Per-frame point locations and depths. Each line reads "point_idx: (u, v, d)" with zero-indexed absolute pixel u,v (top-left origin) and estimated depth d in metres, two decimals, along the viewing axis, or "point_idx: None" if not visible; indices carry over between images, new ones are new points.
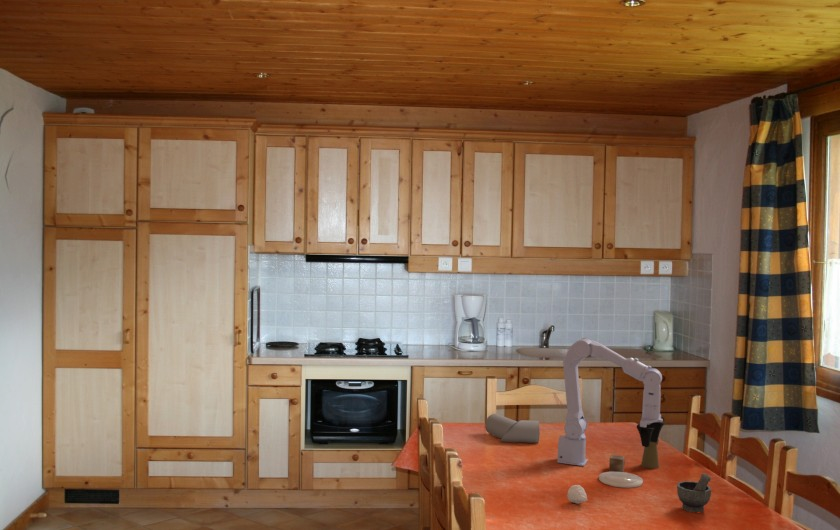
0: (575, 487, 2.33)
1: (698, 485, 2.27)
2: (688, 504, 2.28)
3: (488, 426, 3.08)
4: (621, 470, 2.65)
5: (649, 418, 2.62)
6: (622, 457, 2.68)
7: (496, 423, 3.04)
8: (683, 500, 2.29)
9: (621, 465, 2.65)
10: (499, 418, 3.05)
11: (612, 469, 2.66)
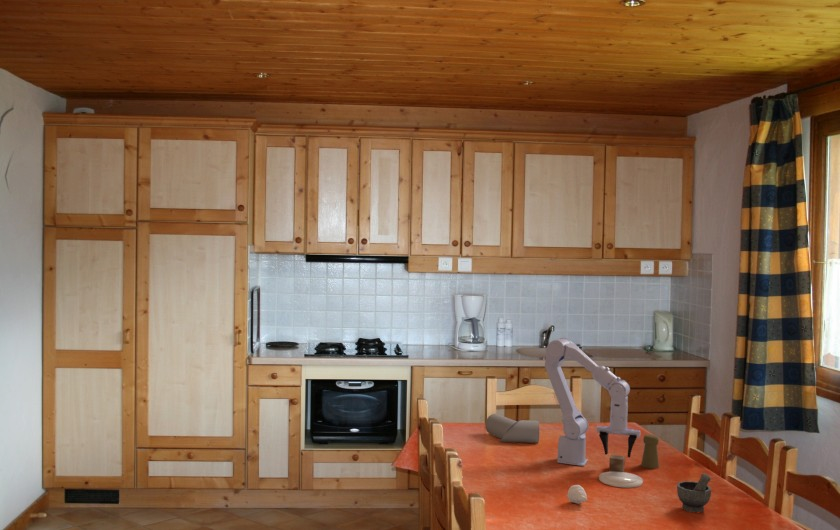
0: (575, 487, 2.33)
1: (698, 485, 2.27)
2: (688, 504, 2.28)
3: (488, 426, 3.08)
4: (621, 470, 2.65)
5: (609, 427, 2.68)
6: (622, 457, 2.68)
7: (496, 423, 3.04)
8: (683, 500, 2.29)
9: (621, 465, 2.65)
10: (499, 418, 3.05)
11: (612, 469, 2.66)
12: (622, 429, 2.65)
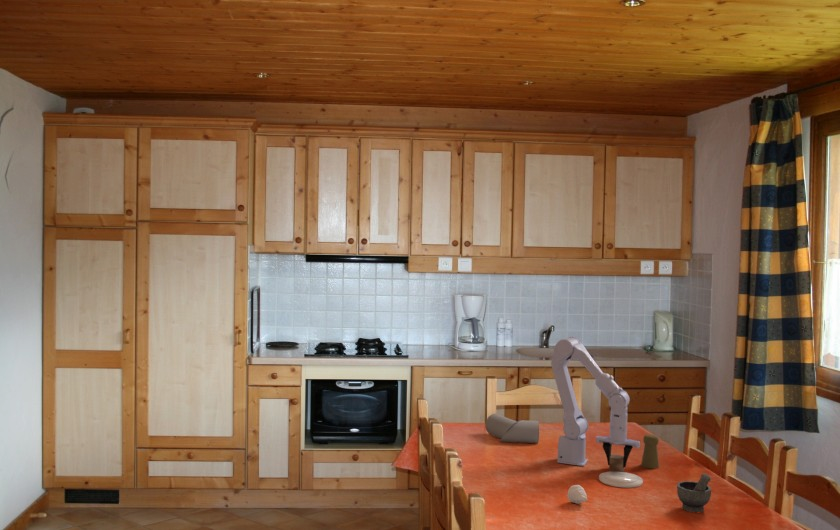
0: (575, 487, 2.33)
1: (698, 485, 2.27)
2: (688, 504, 2.28)
3: (488, 426, 3.08)
4: (621, 470, 2.65)
5: (609, 437, 2.68)
6: (622, 457, 2.68)
7: (496, 423, 3.04)
8: (683, 500, 2.29)
9: (621, 465, 2.65)
10: (499, 418, 3.05)
11: (612, 469, 2.66)
12: (622, 440, 2.65)
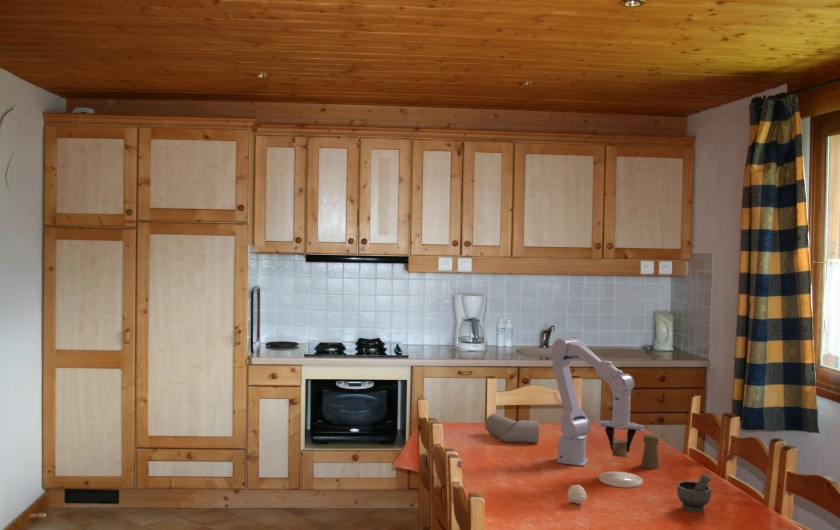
0: (575, 487, 2.33)
1: (698, 485, 2.27)
2: (688, 504, 2.28)
3: (488, 426, 3.08)
4: (624, 455, 2.59)
5: (612, 421, 2.61)
6: (625, 442, 2.61)
7: (496, 423, 3.04)
8: (683, 500, 2.29)
9: (624, 450, 2.59)
10: (499, 418, 3.05)
11: (615, 454, 2.60)
12: (625, 423, 2.58)
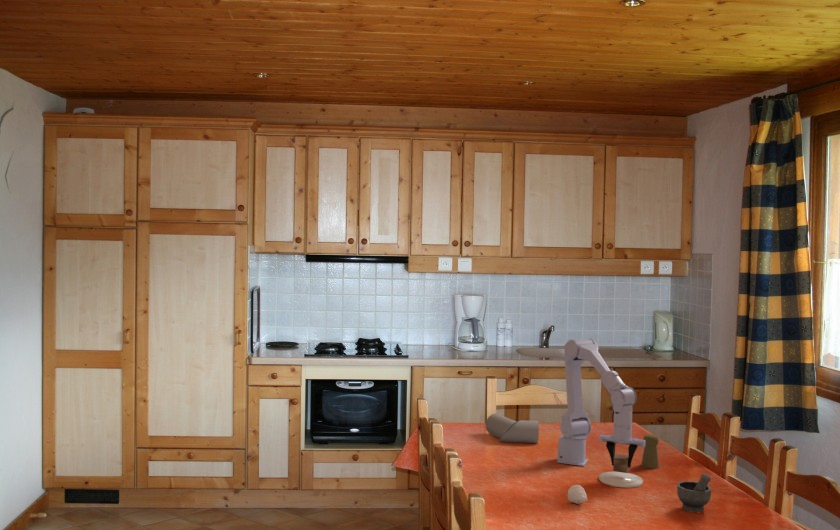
0: (575, 487, 2.33)
1: (698, 485, 2.27)
2: (688, 504, 2.28)
3: (488, 426, 3.08)
4: (626, 470, 2.53)
5: (613, 436, 2.56)
6: (627, 457, 2.56)
7: (496, 423, 3.04)
8: (683, 500, 2.29)
9: (626, 465, 2.53)
10: (499, 418, 3.06)
11: (616, 469, 2.54)
12: (626, 438, 2.53)
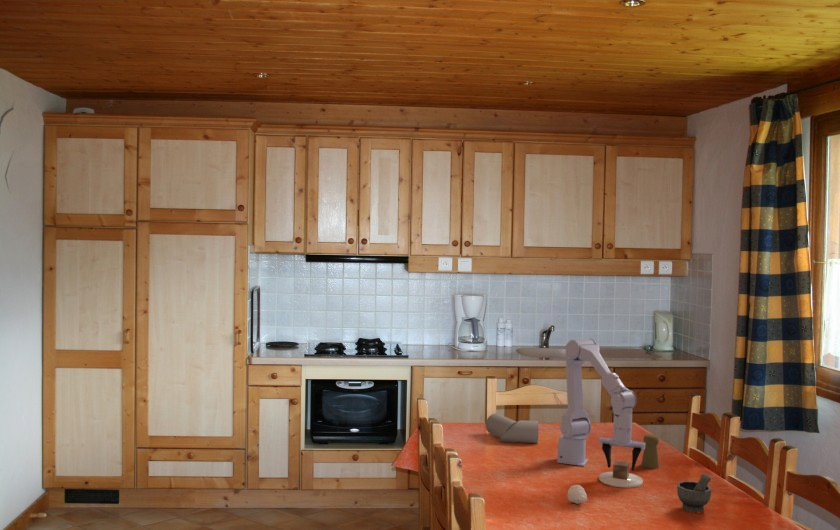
0: (575, 487, 2.33)
1: (698, 485, 2.27)
2: (688, 504, 2.28)
3: (488, 426, 3.08)
4: (625, 477, 2.53)
5: (613, 439, 2.56)
6: (626, 463, 2.56)
7: (496, 423, 3.04)
8: (683, 500, 2.29)
9: (625, 472, 2.53)
10: (499, 418, 3.06)
11: (616, 476, 2.54)
12: (626, 441, 2.53)
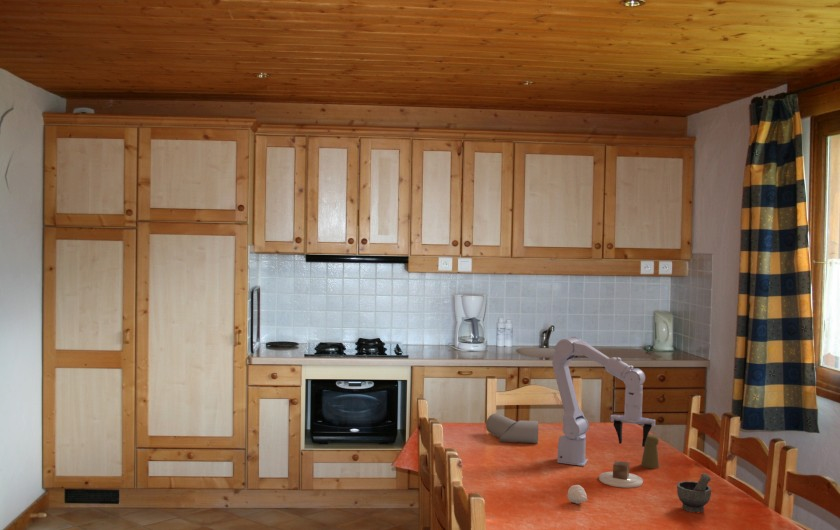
0: (575, 487, 2.33)
1: (698, 485, 2.27)
2: (688, 504, 2.28)
3: (488, 426, 3.08)
4: (625, 477, 2.53)
5: (624, 416, 2.64)
6: (626, 463, 2.56)
7: (496, 423, 3.04)
8: (683, 500, 2.29)
9: (625, 472, 2.53)
10: (499, 418, 3.06)
11: (616, 476, 2.54)
12: (637, 418, 2.61)
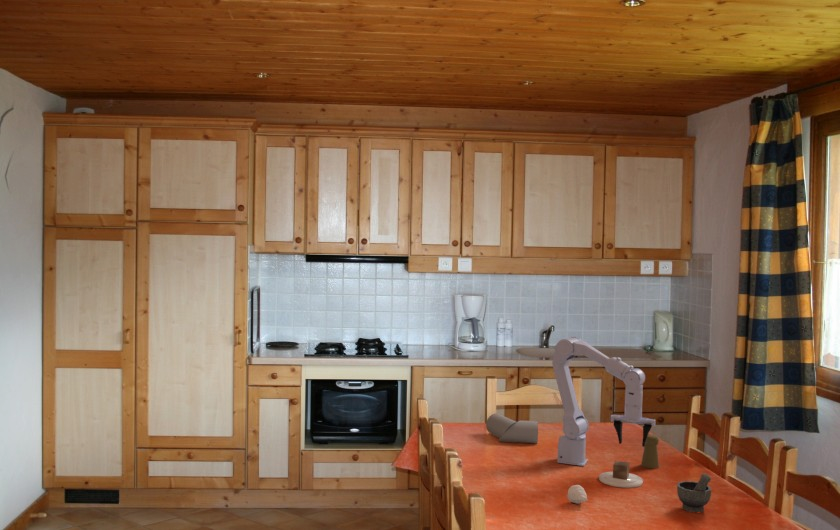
0: (575, 487, 2.33)
1: (698, 485, 2.27)
2: (688, 504, 2.28)
3: (488, 425, 3.08)
4: (625, 477, 2.53)
5: (624, 416, 2.64)
6: (626, 463, 2.56)
7: (496, 423, 3.04)
8: (683, 500, 2.29)
9: (625, 472, 2.53)
10: (499, 418, 3.06)
11: (616, 476, 2.54)
12: (637, 418, 2.61)
